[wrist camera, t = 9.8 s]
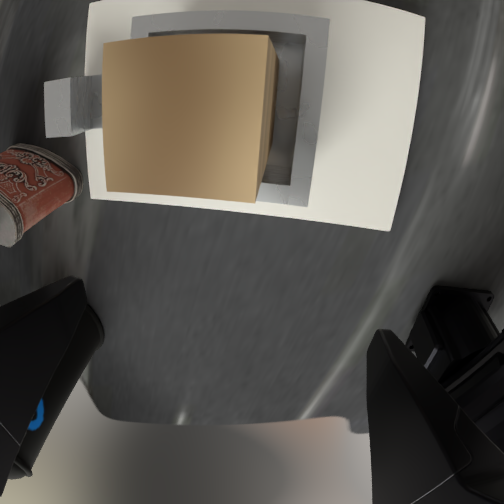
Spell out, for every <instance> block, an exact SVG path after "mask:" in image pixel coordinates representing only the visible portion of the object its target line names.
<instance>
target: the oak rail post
mask: <svg viewBox="0 0 504 504" xmlns="http://www.w3.org/2000/svg"><path fill="white" fill-rule="evenodd" d="M279 63H280V61H279V58H278V56H277V54H276V51H275V49H274V47H273V44H272V42H271V40H270V38H269V35H255V34H183V35H167V36H155V37H145V38H136V39H128V40H121V41H114V42H108V43H103V62H102V128H103V150H104V166H105V178H106V189H107V192H122V193H138V194H153V195H167V196H179V197H191V198H203V199H214V200H225V201H235V202H245V203H254V204H255V202H256V198H257V195H258V191H259V188H260V185H261V181H262V178H263V174H264V171H265V167H266V164H267V160H268V157H269V154H270V150H271V147H272V143H273V132H274V121H275V109H276V98H277V86H278V75H279Z"/></svg>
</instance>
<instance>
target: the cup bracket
mask: <svg viewBox="0 0 504 504" xmlns="http://www.w3.org/2000/svg"><path fill="white" fill-rule="evenodd" d="M329 26H330V19H328V18H321V17H314V16H307V15H299V14H289V13H278V12H264V11H239V10H211V11H186V12H172V13H161V14H152V15H143V16H136V17H132V23H131V36H130V39H136V38H145V37H155V36H167V35H183V34H255V35H269V38H270V40H271V42H272V44H273V47H274V49H275V51H276V54H277V56H278V58H279V61H280V63H279V75H278V86H277V98H276V109H275V121H274V132H273V143H272V147H271V150H270V154H269V157H268V160H267V164H266V167H265V171H264V174H263V178H262V181H261V185H260V188H259V191H258V195H257V198H256V201H260V202H269V203H278V204H286V205H294V206H302V207H308V202H309V195H310V188H311V181H312V174H313V167H314V160H315V153H316V145H317V138H318V130H319V122H320V114H321V105H322V97H323V88H324V78H325V69H326V59H327V48H328V37H329ZM44 108H45V129H46V138H52V137H67V136H74V135H76V134H79V133H82V132H85V131H88V130H91V129H100V128H102V74H100V75H92V76H79V77H69V78H64V79H58V80H53V81H48V82H44Z"/></svg>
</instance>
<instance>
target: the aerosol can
mask: <svg viewBox="0 0 504 504" xmlns="http://www.w3.org/2000/svg"><path fill="white" fill-rule="evenodd" d="M103 341H104V333H103V328H102V326H101V323H100V321H99V319H98V318H97V316H96V315H95V313H94V312H93V311H92V309H91V308H90V307H89V306H88V305H87V304H86V307H85V310H84V312H83V314H82V316H81V318H80V321H79V323H78V325H77V328H76V330H75V332H74V335H73V337H72V339H71V341H70V344H69V346H68V348H67V350H66V351H65V353H64V355H63V357H62V359H61V361H60V363H59V365H58V366H57V368H56V370H55V372H54V374H53V376H52V378H51V380H50V382H49V384H48V386H47V388H46V390H45V392H44V394H43V396H42V398H41V401H40V403H39V405H38V407H37V409H36V411H35V413H34V416H33V418H32V420H31V422H30V425H29V427H28V429H27V431H26V434H25V436H24V438H23V441H22V443H21V445H20V448H19V451H18V453H17V456H16V458H15V461H14V463H13V466H12V469H11V471H10V474H9V477H8V479H19V478H22V477H24V476H28V477H30V476H32V471H31V469H32V467H33V464H34V462H35V460H36V458H37V456H38V454H39V452H40V450H41V448H42V446H43V444H44V442H45V440H46V438H47V436H48V434H49V433H50V430H51V429H52V427H53V425H54V423H55V421H56V419H57V417H58V416H59V413H60V412H61V410H62V408H63V406H64V404H65V403H66V401H67V399H68V397H69V395H70V394H71V392H72V390H73V388H74V387H75V385H76V383H77V381H78V379H79V378H80V376H81V374H82V373H83V371H84V369H85V367H86V366H87V364H88V362H89V361H90V359H91V357H92V356H93V354H94V352H95V351H96V350H98V349H99V348H100V347H101V346H102V344H103Z"/></svg>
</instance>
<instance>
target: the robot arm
mask: <svg viewBox="0 0 504 504" xmlns="http://www.w3.org/2000/svg"><path fill="white" fill-rule="evenodd" d="M436 292H438V293H436ZM435 293H436V294H435ZM488 297H489V298H488ZM493 299H494V295H493V294H492V292H491V291H483V290H473V289H464V288H454V287H444V286H435V287H433V288H432V289H431V290H430V292H429V295H428V297H427V299H426V302H425V304H424V306H423V309H422V311H421V312H420V313H419V315H418V318H417V320H416V322H415V324H414V326H413V328H412V330H411V332H410V336H409V338H408V340H407V342H406V346H405V345H404V343H403V342H402V341H401V340H400V339H399V338H398V337H397V336H396V335H395V334H394V333H393V332H392V331H391V330H387V329H378V330H377V331H376V332H375V334H374V337H373V339H372V341H371V343H370V345H369V348H368V350H367V412H368V424H369V437H370V449H371V450H370V452H371V470H372V502H373V504H504V329H503V330H502V332H501V333H499V331H498V329H497V328H496V326H495V324H494V323H493V321H492V319H491V318H490V316H489V314H488V313H487V311H488V309H489V307H490V305H491V303H492V301H493ZM86 304H87V297H86V293H85V288H84V283H83V280H82V279H81V278H79V277H75V276H69V277H66V278H64V279H62V280H59V281H57V282H55V283H52V284H50V285H48V286H45V287H43V288H41V289H38V290H36V291H34V292H32V293H29V294H27V295H25V296H23V297H20V298H18V299H16V300H14V301H12V302H9V303H7V304H5V305H3V306H1V307H0V496H1V495H2V493H3V491H4V488H5V485H6V482H7V479H8V477H9V474H10V471H11V469H12V466H13V463H14V461H15V458H16V456H17V453H18V451H19V448H20V445H21V443H22V441H23V438H24V436H25V434H26V431H27V429H28V427H29V425H30V422H31V420H32V418H33V416H34V413H35V411H36V409H37V407H38V405H39V403H40V401H41V398H42V396H43V394H44V392H45V390H46V388H47V386H48V384H49V382H50V380H51V378H52V376H53V374H54V372H55V370H56V368H57V366H58V365H59V363H60V361H61V359H62V357H63V355H64V353H65V351H66V350H67V348H68V346H69V344H70V341H71V339H72V337H73V335H74V332H75V330H76V328H77V325H78V323H79V321H80V318H81V316H82V314H83V312H84V310H85V307H86ZM411 345H412V346H411ZM411 351H415V353H416V356H417V358H416V357H415V355H414V354H413V353H412V352H411Z"/></svg>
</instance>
